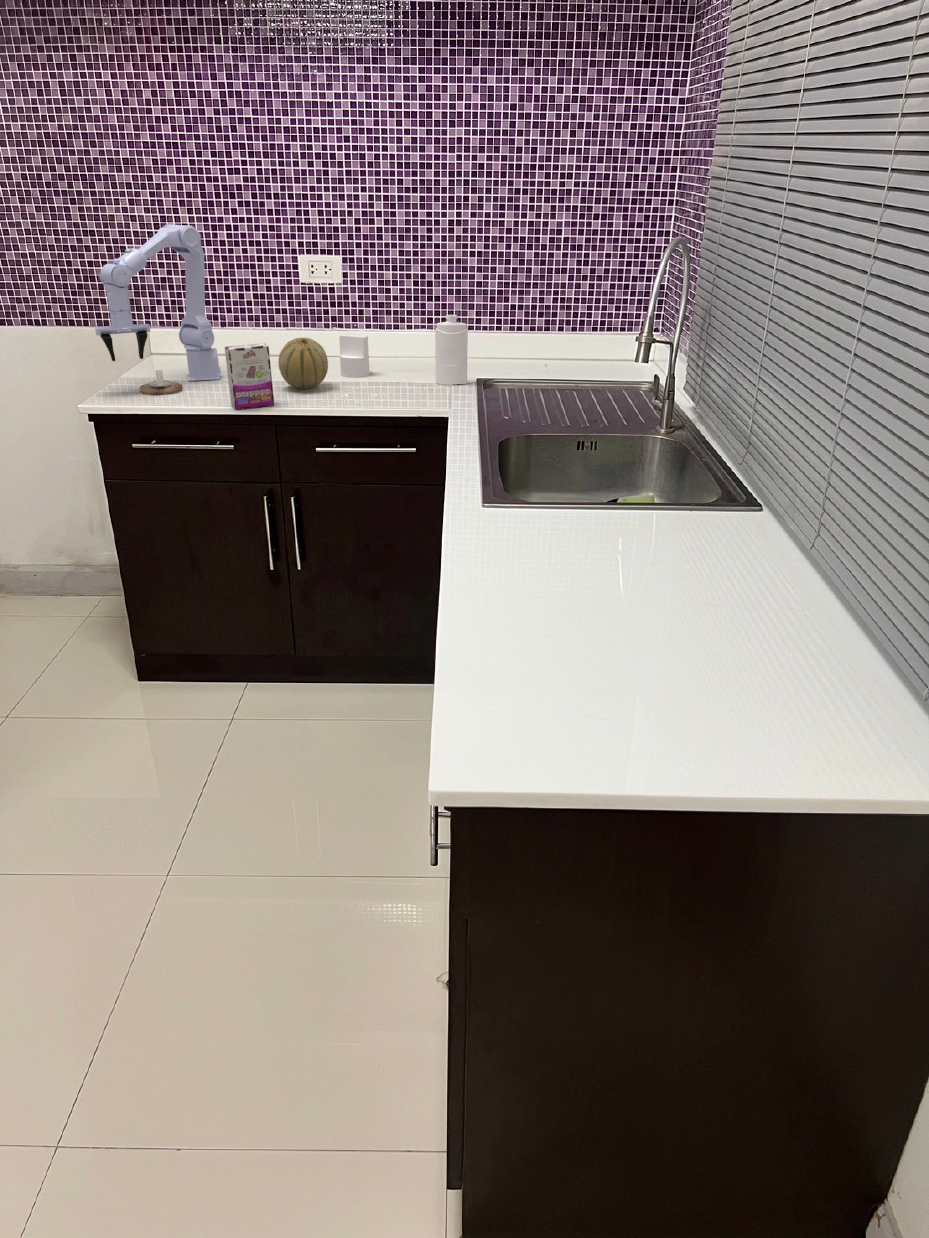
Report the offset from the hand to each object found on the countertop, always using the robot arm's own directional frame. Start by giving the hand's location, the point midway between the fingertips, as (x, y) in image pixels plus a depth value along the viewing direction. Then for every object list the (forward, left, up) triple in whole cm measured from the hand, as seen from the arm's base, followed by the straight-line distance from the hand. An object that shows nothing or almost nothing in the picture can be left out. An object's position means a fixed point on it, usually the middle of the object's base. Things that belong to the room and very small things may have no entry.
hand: (127, 359), depth 266 cm
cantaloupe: (-49, +7, -10) cm, 50 cm away
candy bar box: (-32, +25, -10) cm, 42 cm away
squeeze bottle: (-93, +12, -10) cm, 94 cm away
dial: (-8, -1, -8) cm, 12 cm away
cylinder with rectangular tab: (-67, -8, -10) cm, 68 cm away
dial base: (-8, -1, -10) cm, 13 cm away
